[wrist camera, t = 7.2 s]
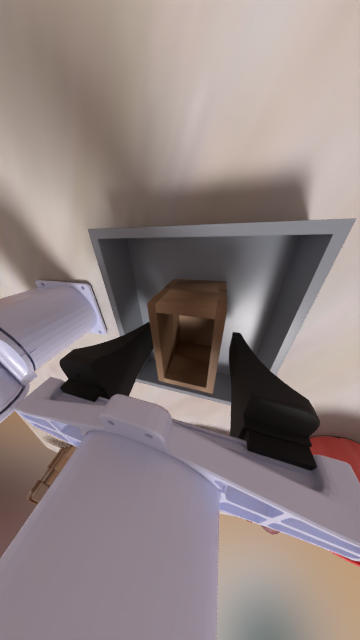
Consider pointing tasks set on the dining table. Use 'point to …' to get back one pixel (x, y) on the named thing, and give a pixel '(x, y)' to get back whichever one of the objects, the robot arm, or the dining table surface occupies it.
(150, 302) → the walnut crate
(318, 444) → the flower pot
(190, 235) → the grey crate
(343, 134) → the dining table surface
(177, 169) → the dining table surface
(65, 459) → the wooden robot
